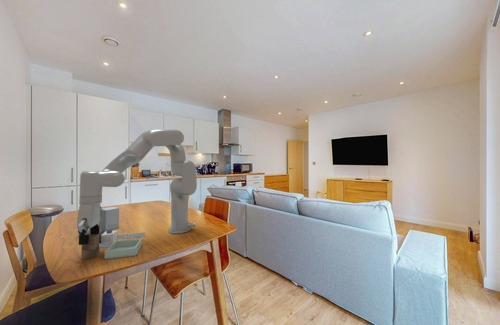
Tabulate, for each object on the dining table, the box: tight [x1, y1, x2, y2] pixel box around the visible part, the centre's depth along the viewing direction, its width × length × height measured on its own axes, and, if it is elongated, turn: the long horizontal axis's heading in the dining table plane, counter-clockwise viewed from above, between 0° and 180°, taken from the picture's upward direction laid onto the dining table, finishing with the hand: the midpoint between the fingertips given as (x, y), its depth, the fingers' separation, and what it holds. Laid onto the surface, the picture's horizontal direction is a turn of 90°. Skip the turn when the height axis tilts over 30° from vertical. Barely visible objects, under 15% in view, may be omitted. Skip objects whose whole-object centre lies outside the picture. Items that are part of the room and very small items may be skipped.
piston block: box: [101, 229, 118, 243], centre depth 99 cm, size 5×6×7 cm
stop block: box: [80, 234, 100, 261], centre depth 84 cm, size 4×4×9 cm
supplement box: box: [101, 206, 120, 231], centre depth 120 cm, size 7×7×13 cm
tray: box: [104, 237, 143, 260], centre depth 89 cm, size 12×12×4 cm
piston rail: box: [99, 230, 146, 249], centre depth 100 cm, size 20×11×5 cm, turn 108°
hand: (89, 239), depth 84 cm, fingers open, 9 cm apart
